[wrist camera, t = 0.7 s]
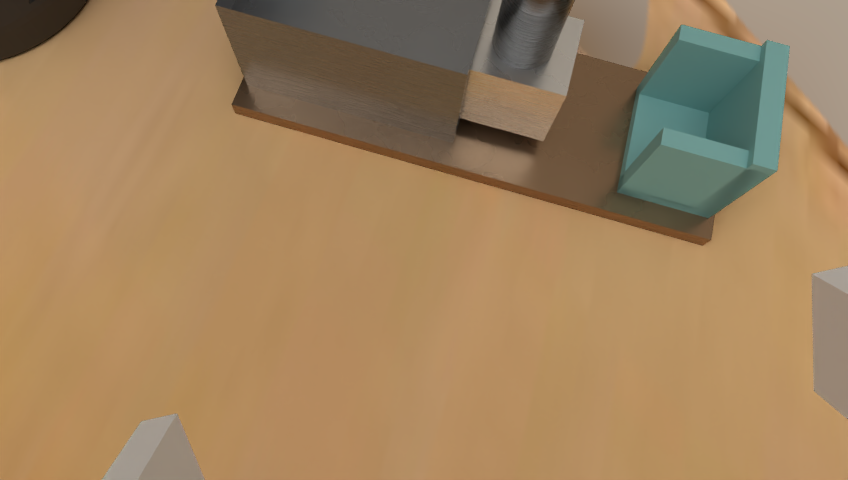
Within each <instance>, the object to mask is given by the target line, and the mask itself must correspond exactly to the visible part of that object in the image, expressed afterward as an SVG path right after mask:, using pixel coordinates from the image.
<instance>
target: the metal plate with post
mask: <svg viewBox="0 0 848 480" xmlns="http://www.w3.org/2000/svg"><path fill="white" fill-rule="evenodd" d="M574 1H575V0H491V2H490V6H489V9H488V12H487V15H486V19H485V22H484V25H483V29H482V32H481V35H480V38H479V42H478V45H477V48H476V51H475V55H474V58H473V61H472V65H471V68H470V71H469V76H468V80H467V85H466V90H465V94H464V99H463V104H462V108H461V113H460V117H459V118H462V119H465V120H469V121H472V122H476V123H479V124H483V125H487V126H490V127H494V128H497V129H501V130H505V131H508V132H512V133H515V134H519V135H522V136H526V137H530V138H533V139H537V140H540V141H544V139H545V137H546V135H547V133H548V131H549V129H550V127H551V125H552V123H553V121H554V119H555V117H556V115H557V114H558V112H559V110H560V108H561V106H562V104H563V102H564V100H565V98H566V96H567V92H568V88H569V83H570V79H571V75H572V71H573V67H574V62H575V58H576V54H577V50H578V46H579V41H580V37H581V33H582V29H583V25H584V20H581V19H578V18H574V17H570V16H568V15H569V13H570V10H571V8H572V6H573V3H574Z"/></svg>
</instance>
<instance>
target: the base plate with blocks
mask: <svg viewBox="0 0 848 480" xmlns="http://www.w3.org/2000/svg"><path fill="white" fill-rule="evenodd" d="M490 2H491V0H217V3H216V5H215V6H216V8H217V11H218V13H219V16H220V18H221V21H222V23H223V26H224V28H225V31H226V33H227V36H228V38H229V41H230V43H231V46H232V48H233V51H234V53H235V56H236V58H237V61H238V63H239V66H240V68H241V71H242V73H243V76H244V78H243V80H242V83H241V85H240V87H239V89H238V91H237V94H236V96H235V98H234V100H233V103H232V106H233V108H234V110H235V113H237V114H241V115H244V116H248V117H251V118H255V119H258V120H262V121H265V122H269V123H272V124H276V125H279V126H283V127H286V128H290V129H293V130H297V131H301V132H304V133H308V134H311V135H315V136H318V137H322V138H325V139H329V140H332V141H336V142H339V143H343V144H346V145H350V146H353V147H357V148H361V149H364V150H368V151H371V152H375V153H378V154H382V155H385V156H389V157H392V158H396V159H399V160H403V161H406V162H410V163H413V164H417V165H421V166H424V167H428V168H431V169H435V170H438V171H442V172H445V173H449V174H452V175H456V176H459V177H463V178H466V179H470V180H474V181H477V182H481V183H484V184H488V185H491V186H495V187H498V188H502V189H505V190H509V191H512V192H516V193H519V194H523V195H526V196H530V197H534V198H537V199H541V200H544V201H548V202H551V203H555V204H558V205H562V206H565V207H569V208H572V209H576V210H579V211H583V212H586V213H590V214H594V215H597V216H601V217H604V218H608V219H611V220H615V221H618V222H622V223H625V224H629V225H632V226H636V227H639V228H643V229H647V230H650V231H654V232H657V233H661V234H664V235H668V236H671V237H675V238H678V239H682V240H685V241H689V242H692V243H696V244H699V245H704V244H706V243H707V242H709V241H710V240H711V237H712V230H713V223H714V215H715V214H714V215H713V216H711V217H710V218H706V217H703V216H699V215H695V214H692V213H688V212H685V211H681V210H678V209H674V208H671V207H667V206H663V205H660V204H656V203H653V202H649V201H646V200H642V199H639V198H635V197H631V196H628V195H624V194H621V193H617V189H618V183H619V178H620V173H621V168H622V163H623V158H624V153H625V147H626V142H627V137H628V132H629V127H630V122H631V117H632V111H633V106H634V101H635V96H636V91H637V87H638V86H639V84H640V83H641V81H642V80H643V79H644V77H645V76H646V74H647V73H648V72H644V71H640V70H637V69H633V68H629V67H625V66H622V65H618V64H615V63H611V62H608V61H604V60H600V59H597V58H593V57H589V56H586V55H582V54H578V53H577V54H576V58H575V62H574V67H573V71H572V75H571V79H570V83H569V88H568V92H567V96H566V98H565V100H564V102H563V104H562V106H561V108H560V110H559V112H558V114H557V115H556V117H555V119H554V121H553V123H552V125H551V127H550V129H549V131H548V133H547V135H546V137H545V139H544V141H540V140H537V139H533V138H530V137H526V136H522V135H519V134H515V133H512V132H508V131H505V130H501V129H497V128H494V127H490V126H487V125H483V124H479V123H476V122H472V121H469V120H465V119H462V118H459V117H460V113H461V108H462V104H463V99H464V94H465V90H466V85H467V80H468V76H469V71H470V68H471V65H472V61H473V58H474V55H475V51H476V48H477V45H478V42H479V38H480V35H481V32H482V29H483V25H484V22H485V19H486V15H487V12H488V9H489V6H490Z"/></svg>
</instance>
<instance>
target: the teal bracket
mask: <svg viewBox="0 0 848 480" xmlns="http://www.w3.org/2000/svg"><path fill="white" fill-rule="evenodd" d="M789 48H790V46H788V45H784V44H780V43H776V42H773V41H769V40H767V41H766V42H765V43H764V44H763V45H762V46H760V45H756V44H752V43H748V42H745V41H741V40H737V39H734V38H730V37H726V36H722V35H719V34H715V33H711V32H708V31H704V30H700V29H697V28H693V27H689V26H685V25H681V26H680V27H679V29H678V30H677V32H676V33H675V34H674V36H673V37H672V39H671V40H670V42H669V43H668V44H667V46H666V47H665V49H664V50H663V52H662V53H661V54H660V56H659V57H658V59H657V60H656V61H655V63H654V64H653V66H652V67H651V69H650V70H649V71H648V73H647V74H646V76H645V77H644V79H643V80H642V81H641V83H640V84H639V86H638V87H637V91H636V96H635V101H634V106H633V111H632V117H631V122H630V127H629V132H628V137H627V142H626V147H625V153H624V158H623V163H622V168H621V173H620V178H619V183H618V189H617V193H621V194H624V195H628V196H631V197H635V198H639V199H642V200H646V201H649V202H653V203H656V204H660V205H663V206H667V207H671V208H674V209H678V210H681V211H685V212H688V213H692V214H695V215H699V216H703V217H706V218H710V217H711V216H713V215H714V214H716V213H717V212H719V211H720V210H721V209H723V208H724V207H726V206H727V205H729V204H730V203H732V202H733V201H734V200H736V199H737V198H739V197H740V196H742V195H743V194H745V193H746V192H747V191H749V190H750V189H752V188H753V187H755V186H756V185H758V184H759V183H760V182H762V181H763V180H765V179H766V178H768V177H769V176H771V175H772V174H773V173H775V172H776V171H777V170H778V160H779V150H780V140H781V130H782V120H783V110H784V99H785V89H786V79H787V69H788V58H789Z"/></svg>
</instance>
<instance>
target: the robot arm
mask: <svg viewBox="0 0 848 480" xmlns="http://www.w3.org/2000/svg"><path fill="white" fill-rule="evenodd" d="M86 1H87V0H0V60H2V59H5V58H8V57H11V56H14V55H16V54H19V53H21V52H24V51H26V50H28V49H30V48H32V47H34V46H36V45H38V44H40V43H41V42H43V41H45V40H46V39H48V38H49V37H51V36H52V35H54V34H55V33H56V32H58V31H59V30H60V29H62V28H63V27H64V26H65V25H66V24H67V23H68V22H69V21H70V20H71V19H72V18H73V17H74V16H75V15H76V14H77V13H78V12H79V11H80V9H81V8H82V7H83V5H84V4H85V2H86ZM812 314H813V373H814V391H815V392H816V393H817V394H818V395H819V396H821V397H822V398H823V399H824V400H825V401H826V402H828V403H829V404H830V405H831V406H832V407H834V408H835V409H836V410H837V411H838V412H840V413H841V414H842V415H843V416H844V417H846V418H847V419H848V266H845V267H841V268H836V269H832V270H827V271H822V272H818V273H813V274H812ZM102 480H205V479H204V477H203V474H202V472H201V469H200V467H199V465H198V462H197V460H196V457H195V455H194V453H193V450H192V448H191V446H190V443H189V441H188V438H187V436H186V434H185V431H184V429H183V426H182V424H181V422H180V419H179V417H178V414H172V415H168V416H163V417H159V418H154V419H149V420H145V421H141V422H140V424H139V425H138V427H137V428H136V430H135V431H134V433H133V434H132V436H131V437H130V439H129V440H128V442H127V443H126V445H125V446H124V448H123V449H122V451H121V452H120V454H119V455H118V456H117V458H116V459H115V461H114V462H113V464H112V465H111V467H110V468H109V470H108V471H107V473H106V474H105V476H104V477H103V479H102Z"/></svg>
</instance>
